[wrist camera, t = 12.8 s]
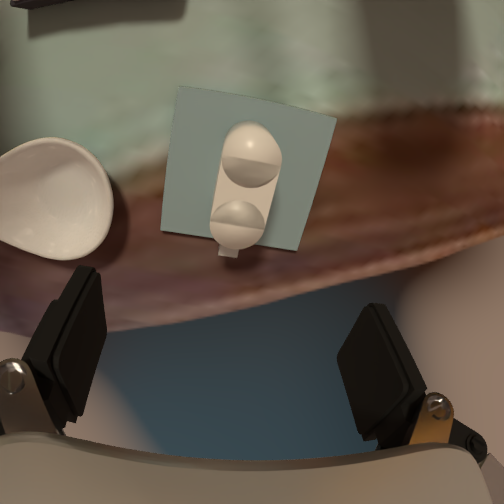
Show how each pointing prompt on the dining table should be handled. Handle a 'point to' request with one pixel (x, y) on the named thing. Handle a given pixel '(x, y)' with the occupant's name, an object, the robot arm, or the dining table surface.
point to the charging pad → (209, 152)
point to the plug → (244, 186)
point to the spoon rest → (54, 199)
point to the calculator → (34, 3)
